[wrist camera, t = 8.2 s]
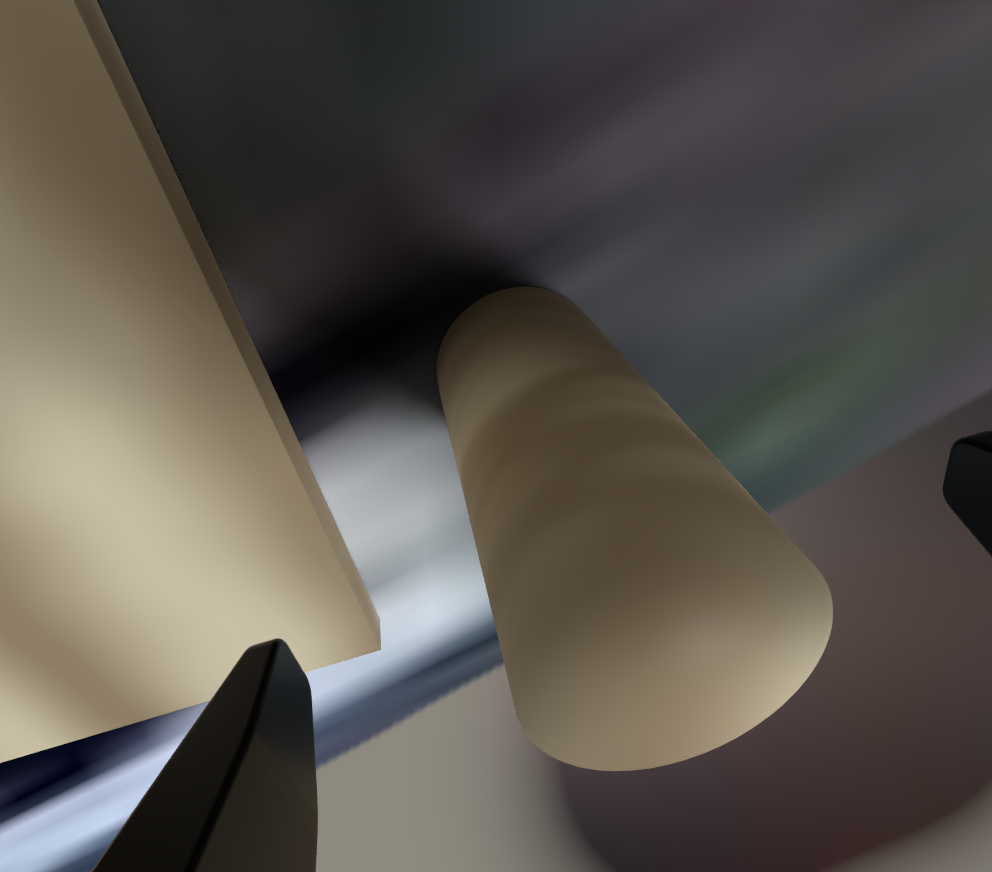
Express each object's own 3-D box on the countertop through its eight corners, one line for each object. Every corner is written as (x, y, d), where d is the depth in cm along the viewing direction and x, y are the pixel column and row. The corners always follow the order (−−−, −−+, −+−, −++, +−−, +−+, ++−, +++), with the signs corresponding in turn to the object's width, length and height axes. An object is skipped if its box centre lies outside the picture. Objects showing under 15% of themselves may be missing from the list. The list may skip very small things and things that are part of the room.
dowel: (587, 266, 13) (848, 493, 6) (607, 415, 15) (821, 717, 8) (415, 313, 13) (480, 601, 6) (458, 457, 14) (545, 802, 8)
